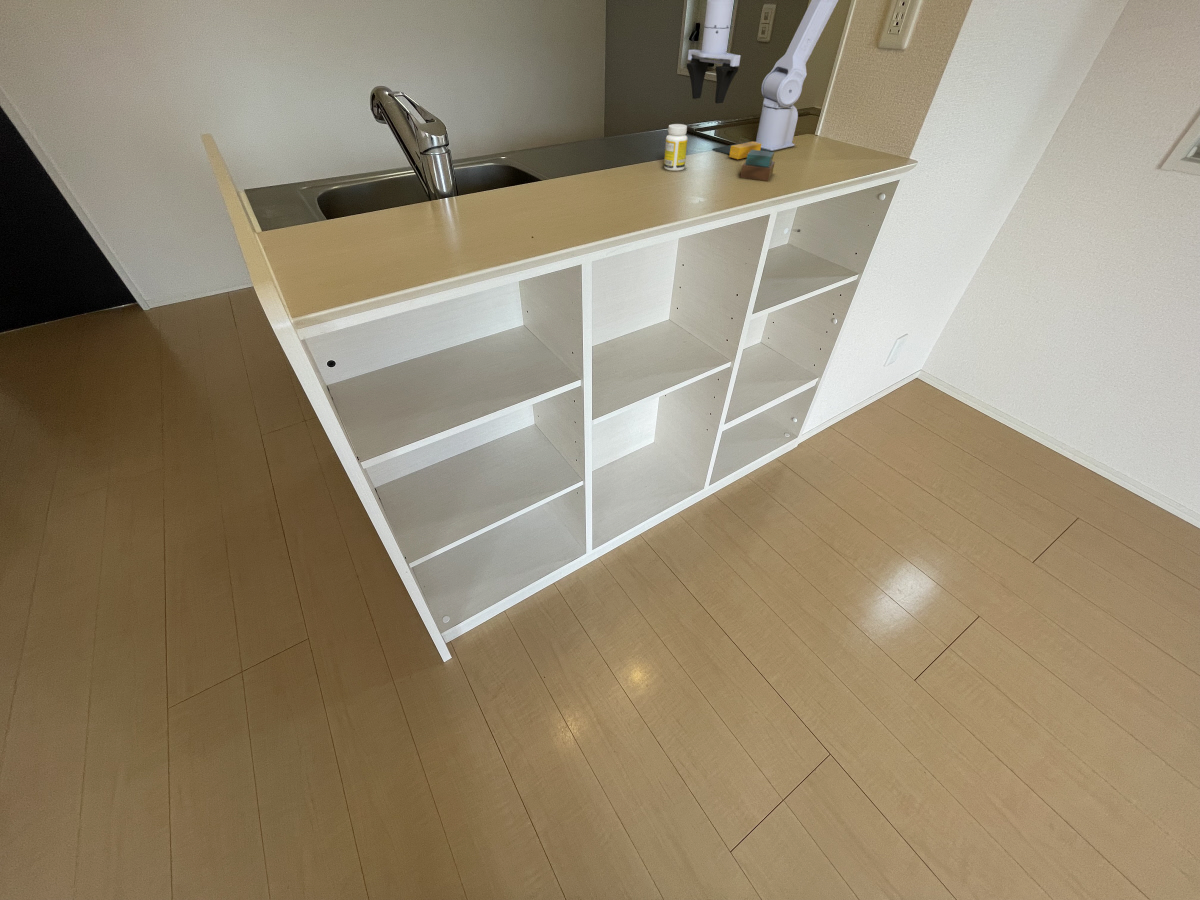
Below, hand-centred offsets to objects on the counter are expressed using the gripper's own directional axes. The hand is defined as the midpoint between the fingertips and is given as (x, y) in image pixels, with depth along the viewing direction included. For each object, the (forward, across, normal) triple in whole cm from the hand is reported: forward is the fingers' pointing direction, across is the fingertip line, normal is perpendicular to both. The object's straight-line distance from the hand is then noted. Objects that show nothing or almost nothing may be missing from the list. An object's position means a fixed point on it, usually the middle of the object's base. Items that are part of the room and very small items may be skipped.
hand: (707, 100), depth 122 cm
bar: (+10, +12, +3) cm, 16 cm away
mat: (+10, +7, +9) cm, 15 cm away
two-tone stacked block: (+10, +24, -7) cm, 27 cm away
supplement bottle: (+11, +9, -18) cm, 23 cm away
